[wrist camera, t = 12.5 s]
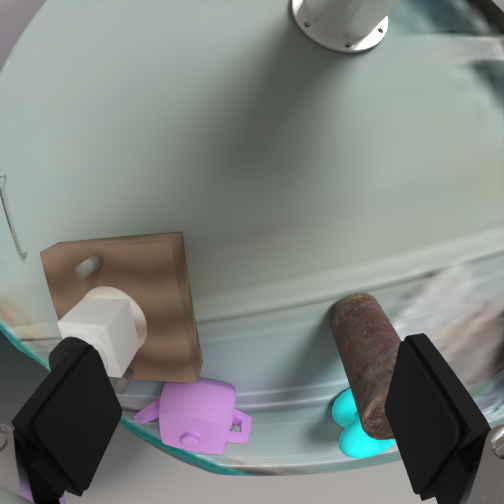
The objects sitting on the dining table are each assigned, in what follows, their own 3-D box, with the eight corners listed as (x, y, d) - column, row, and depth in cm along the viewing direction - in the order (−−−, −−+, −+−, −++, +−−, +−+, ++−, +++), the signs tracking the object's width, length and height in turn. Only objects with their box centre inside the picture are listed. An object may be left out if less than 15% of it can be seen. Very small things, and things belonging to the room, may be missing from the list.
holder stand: (59, 242, 39) (20, 262, 30) (182, 231, 38) (158, 254, 29) (91, 355, 45) (66, 388, 36) (202, 361, 44) (191, 403, 35)
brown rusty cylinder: (330, 341, 42) (363, 450, 23) (322, 297, 40) (361, 403, 21) (379, 327, 42) (434, 425, 22) (375, 283, 40) (444, 374, 20)
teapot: (149, 407, 48) (133, 448, 39) (145, 364, 45) (123, 407, 35) (248, 424, 48) (245, 469, 39) (256, 382, 45) (254, 431, 35)
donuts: (331, 462, 38) (354, 423, 35) (323, 419, 48) (341, 378, 45) (386, 459, 38) (413, 420, 35) (372, 419, 48) (394, 380, 45)
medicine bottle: (83, 296, 36) (32, 344, 24) (129, 298, 36) (84, 352, 24) (96, 342, 38) (55, 395, 26) (141, 346, 38) (106, 407, 26)
